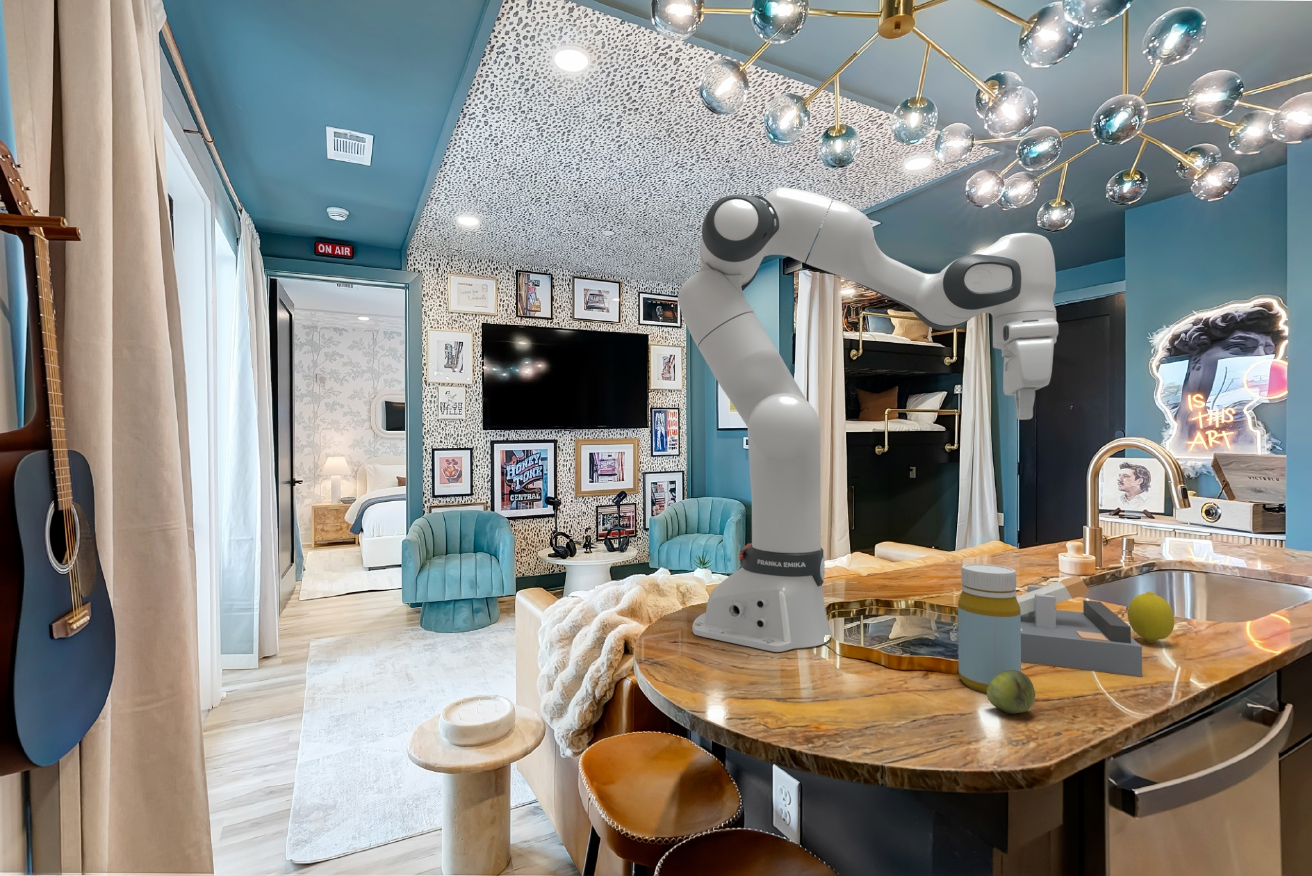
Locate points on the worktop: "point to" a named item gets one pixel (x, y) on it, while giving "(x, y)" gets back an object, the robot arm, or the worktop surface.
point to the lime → (1011, 692)
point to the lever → (1054, 593)
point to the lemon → (1151, 617)
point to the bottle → (988, 624)
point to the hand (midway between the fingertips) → (1024, 419)
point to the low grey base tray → (1078, 638)
